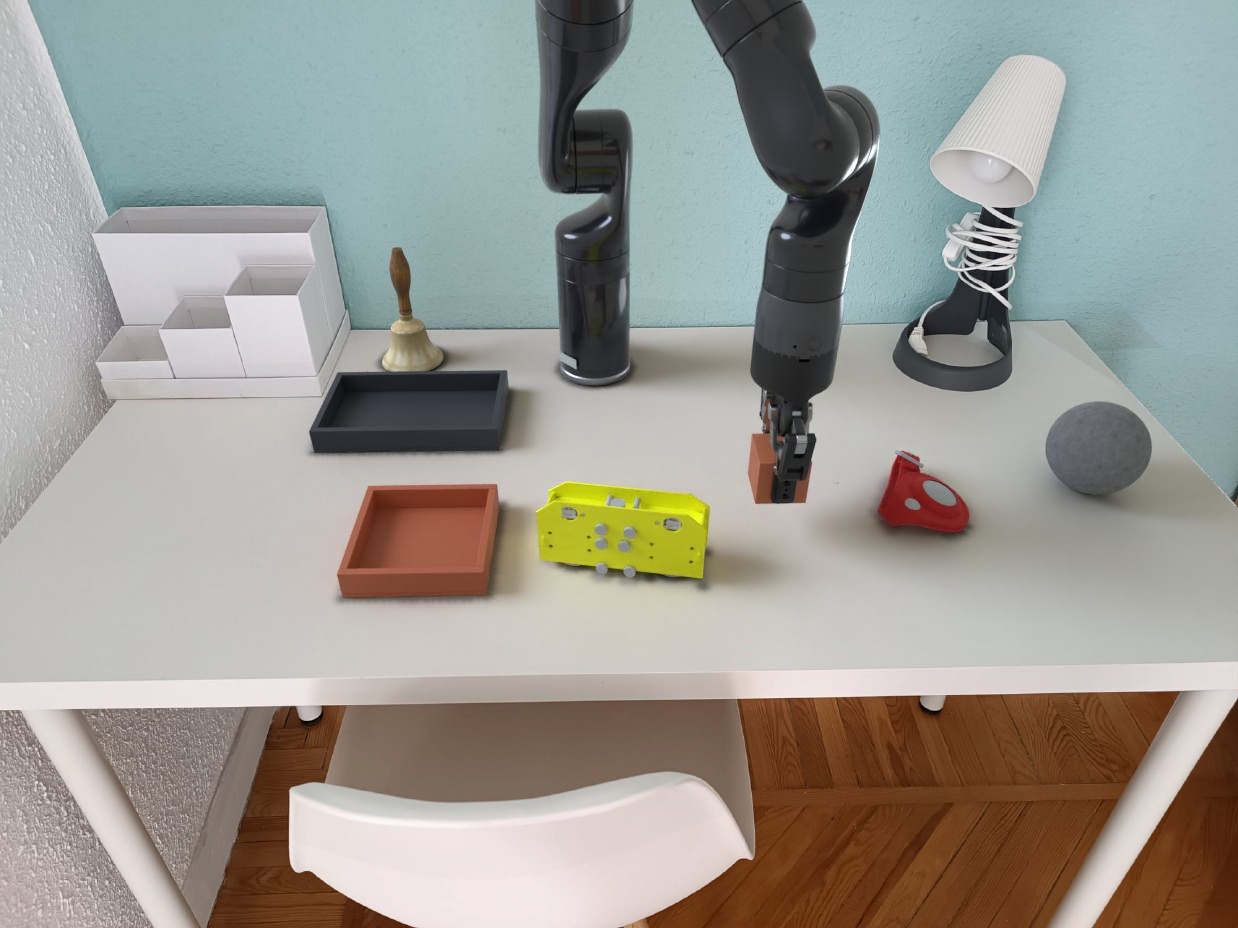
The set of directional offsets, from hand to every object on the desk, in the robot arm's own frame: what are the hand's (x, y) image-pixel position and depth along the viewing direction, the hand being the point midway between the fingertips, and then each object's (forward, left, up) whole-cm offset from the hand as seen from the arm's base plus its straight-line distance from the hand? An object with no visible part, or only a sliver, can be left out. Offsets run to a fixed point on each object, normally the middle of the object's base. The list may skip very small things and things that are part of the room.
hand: (776, 483), depth 87 cm
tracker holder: (-4, +17, -6) cm, 18 cm away
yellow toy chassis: (+4, -15, -6) cm, 17 cm away
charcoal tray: (-22, -40, -6) cm, 46 cm away
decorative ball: (-7, +36, -6) cm, 37 cm away
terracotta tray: (+2, -35, -6) cm, 36 cm away
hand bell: (-37, -43, -6) cm, 57 cm away
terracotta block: (0, 0, -1) cm, 1 cm away
